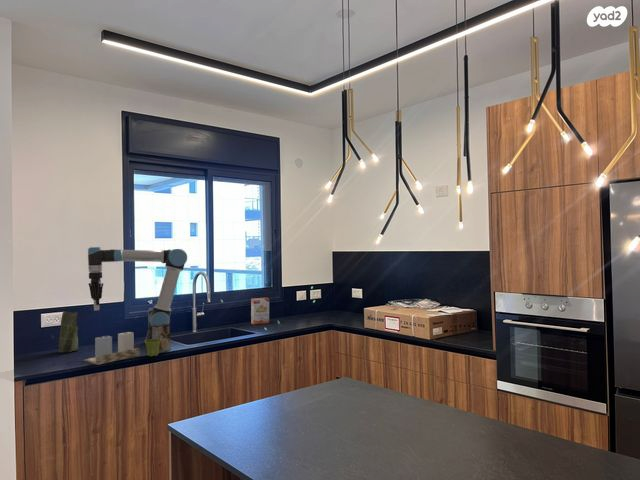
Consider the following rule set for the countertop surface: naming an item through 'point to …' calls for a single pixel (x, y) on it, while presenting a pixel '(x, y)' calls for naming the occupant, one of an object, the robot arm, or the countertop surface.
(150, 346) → the plant pot
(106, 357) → the console
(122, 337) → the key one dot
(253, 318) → the cracker box
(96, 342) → the grey upright block
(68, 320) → the pouch
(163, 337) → the coffee box
